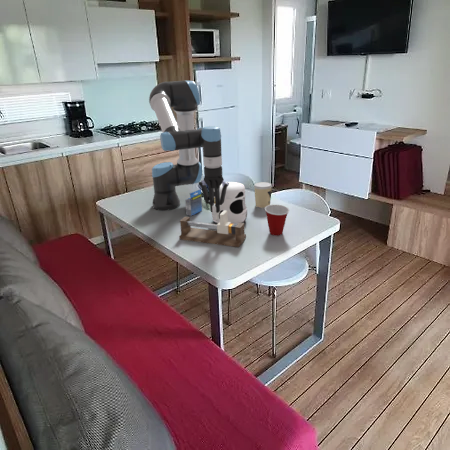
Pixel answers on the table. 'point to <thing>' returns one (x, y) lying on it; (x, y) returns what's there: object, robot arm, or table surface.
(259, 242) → the table surface
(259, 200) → the coffee cup
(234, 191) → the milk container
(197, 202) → the label tape box
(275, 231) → the plastic cup
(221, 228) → the cream stepped block
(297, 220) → the table surface
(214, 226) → the metal rail
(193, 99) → the robot arm
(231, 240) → the wooden rail holder
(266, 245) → the table surface
